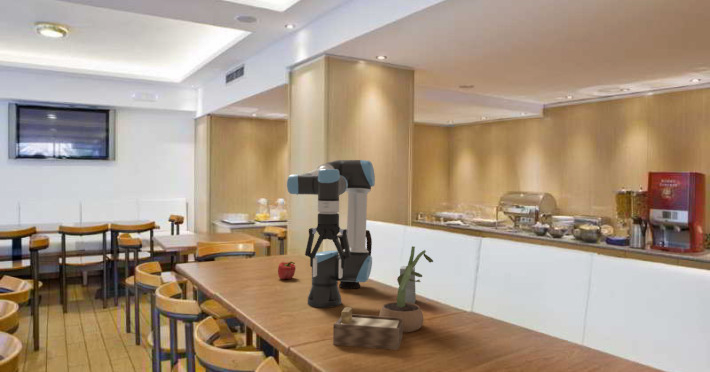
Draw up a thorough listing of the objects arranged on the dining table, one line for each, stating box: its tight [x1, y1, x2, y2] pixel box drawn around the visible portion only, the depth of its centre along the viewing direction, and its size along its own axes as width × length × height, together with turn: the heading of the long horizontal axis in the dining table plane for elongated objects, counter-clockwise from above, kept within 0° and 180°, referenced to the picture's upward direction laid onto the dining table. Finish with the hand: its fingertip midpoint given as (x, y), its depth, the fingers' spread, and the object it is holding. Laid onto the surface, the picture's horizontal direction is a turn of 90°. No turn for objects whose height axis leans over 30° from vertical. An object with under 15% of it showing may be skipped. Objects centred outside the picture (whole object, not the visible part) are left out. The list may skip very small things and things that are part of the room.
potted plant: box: [378, 245, 434, 333], centre depth 184 cm, size 23×18×30 cm
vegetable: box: [277, 261, 296, 280], centre depth 266 cm, size 11×10×10 cm
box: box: [332, 313, 403, 351], centre depth 166 cm, size 22×13×7 cm, turn 78°
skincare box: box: [399, 265, 417, 304], centre depth 220 cm, size 8×7×16 cm
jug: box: [337, 229, 373, 290], centre depth 247 cm, size 21×18×30 cm
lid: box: [340, 306, 399, 328], centre depth 166 cm, size 19×10×5 cm, turn 78°
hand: (327, 276), depth 169 cm, fingers open, 9 cm apart
